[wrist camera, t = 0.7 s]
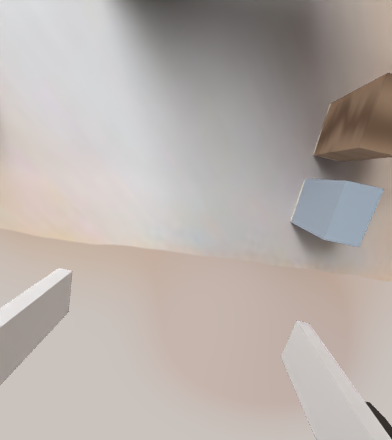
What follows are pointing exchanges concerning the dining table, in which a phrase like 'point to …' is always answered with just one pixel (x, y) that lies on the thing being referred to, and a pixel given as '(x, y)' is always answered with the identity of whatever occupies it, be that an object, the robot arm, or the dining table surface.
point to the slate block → (336, 209)
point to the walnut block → (359, 124)
